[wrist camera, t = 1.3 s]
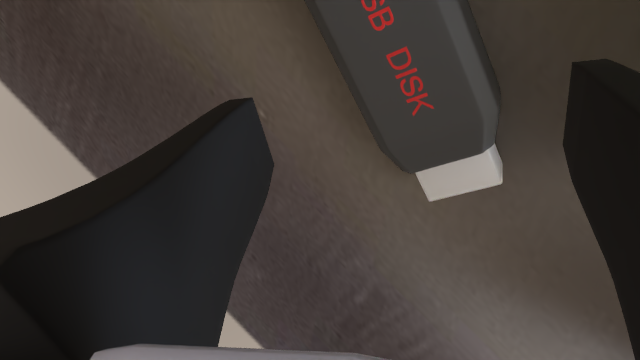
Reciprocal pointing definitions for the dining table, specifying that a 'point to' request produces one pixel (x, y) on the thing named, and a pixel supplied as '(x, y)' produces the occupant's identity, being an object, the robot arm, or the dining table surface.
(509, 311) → the dining table surface
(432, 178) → the usb drive
